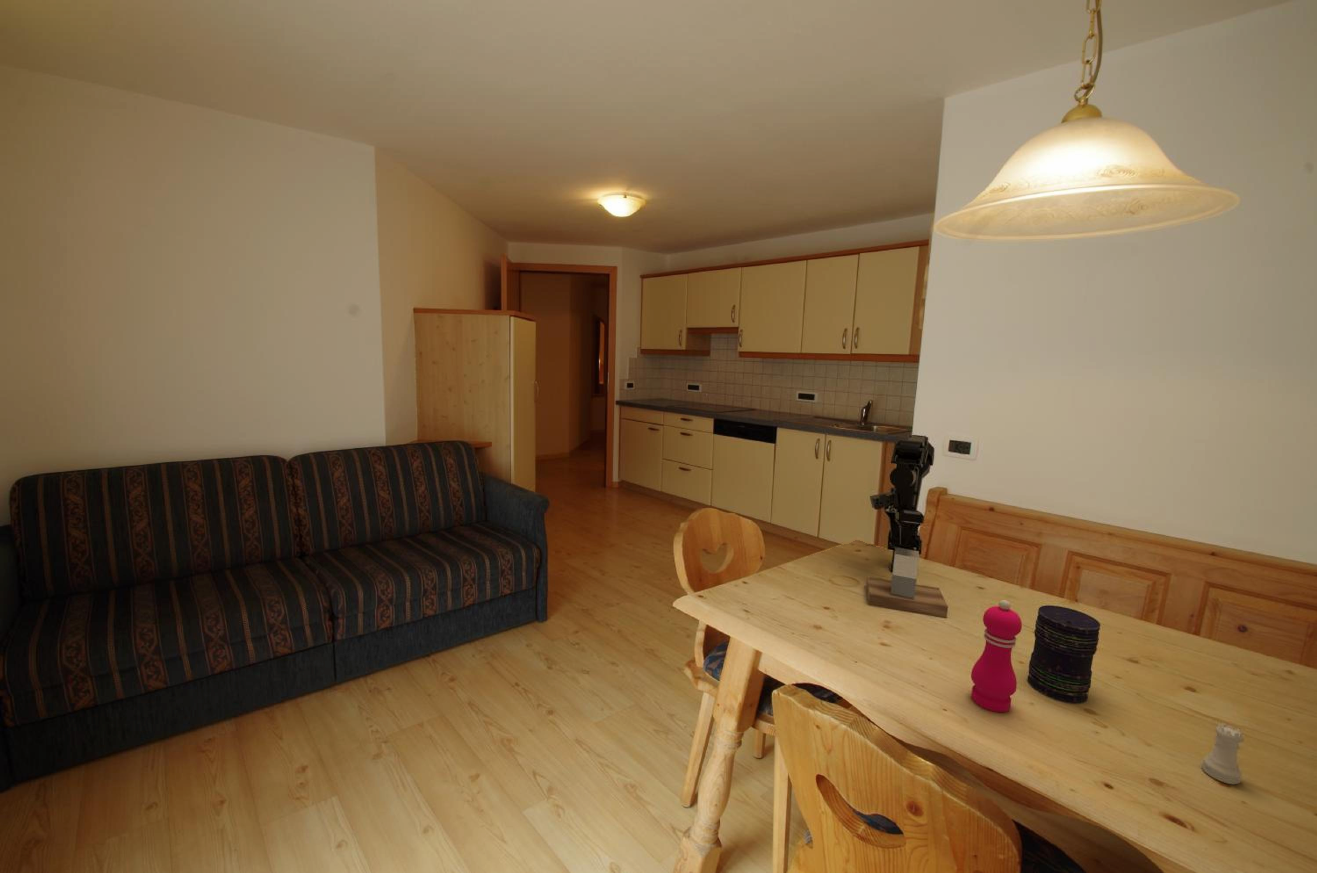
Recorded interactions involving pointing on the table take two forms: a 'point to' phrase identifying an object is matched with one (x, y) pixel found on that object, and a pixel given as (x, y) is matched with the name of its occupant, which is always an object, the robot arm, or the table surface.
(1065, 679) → the dark ridged cylinder
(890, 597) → the stand
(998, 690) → the pepper mill
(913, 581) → the block
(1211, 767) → the rook chess piece
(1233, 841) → the table surface
